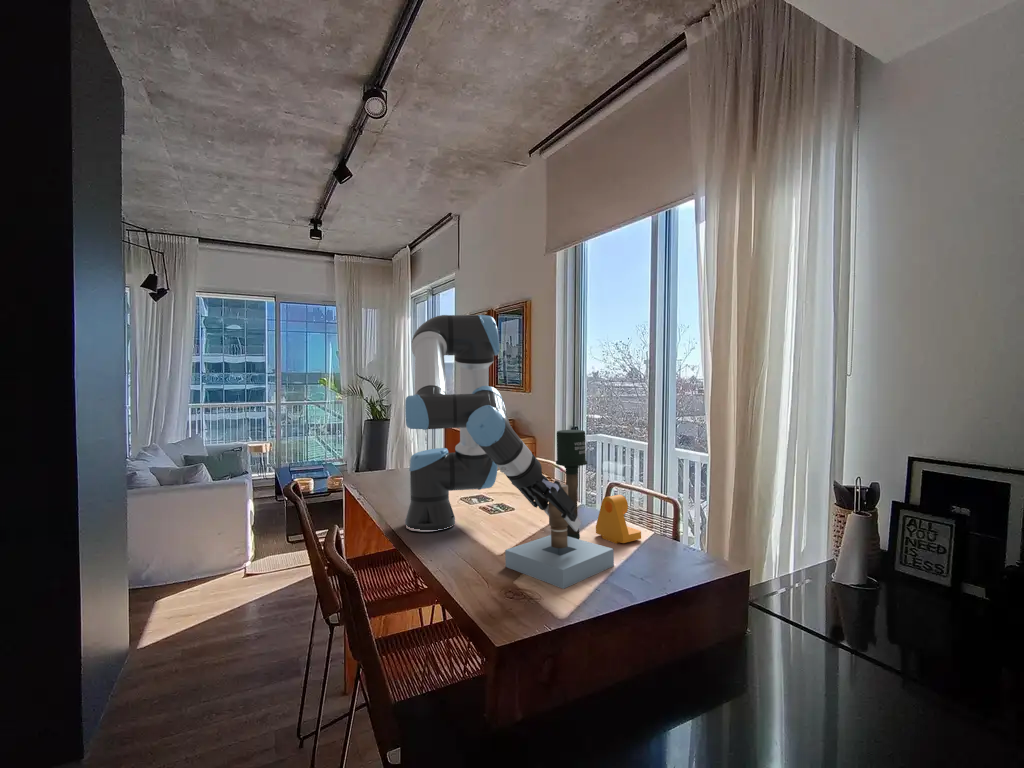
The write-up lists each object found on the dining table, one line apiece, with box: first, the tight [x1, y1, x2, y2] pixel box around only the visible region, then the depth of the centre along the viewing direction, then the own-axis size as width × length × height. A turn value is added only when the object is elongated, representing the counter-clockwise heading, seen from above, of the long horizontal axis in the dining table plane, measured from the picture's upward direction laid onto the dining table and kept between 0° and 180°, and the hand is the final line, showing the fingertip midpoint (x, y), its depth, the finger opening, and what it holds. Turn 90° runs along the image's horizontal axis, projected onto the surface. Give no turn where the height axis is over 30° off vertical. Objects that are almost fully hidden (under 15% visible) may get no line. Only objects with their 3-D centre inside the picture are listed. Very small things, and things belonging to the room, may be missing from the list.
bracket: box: [595, 494, 642, 545], centre depth 136 cm, size 11×7×12 cm, turn 31°
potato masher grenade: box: [555, 429, 588, 540], centre depth 135 cm, size 8×9×30 cm
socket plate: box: [504, 534, 615, 590], centre depth 116 cm, size 18×18×4 cm
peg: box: [548, 483, 569, 548], centre depth 116 cm, size 5×5×14 cm
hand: (569, 524), depth 119 cm, fingers closed on peg, 4 cm apart
